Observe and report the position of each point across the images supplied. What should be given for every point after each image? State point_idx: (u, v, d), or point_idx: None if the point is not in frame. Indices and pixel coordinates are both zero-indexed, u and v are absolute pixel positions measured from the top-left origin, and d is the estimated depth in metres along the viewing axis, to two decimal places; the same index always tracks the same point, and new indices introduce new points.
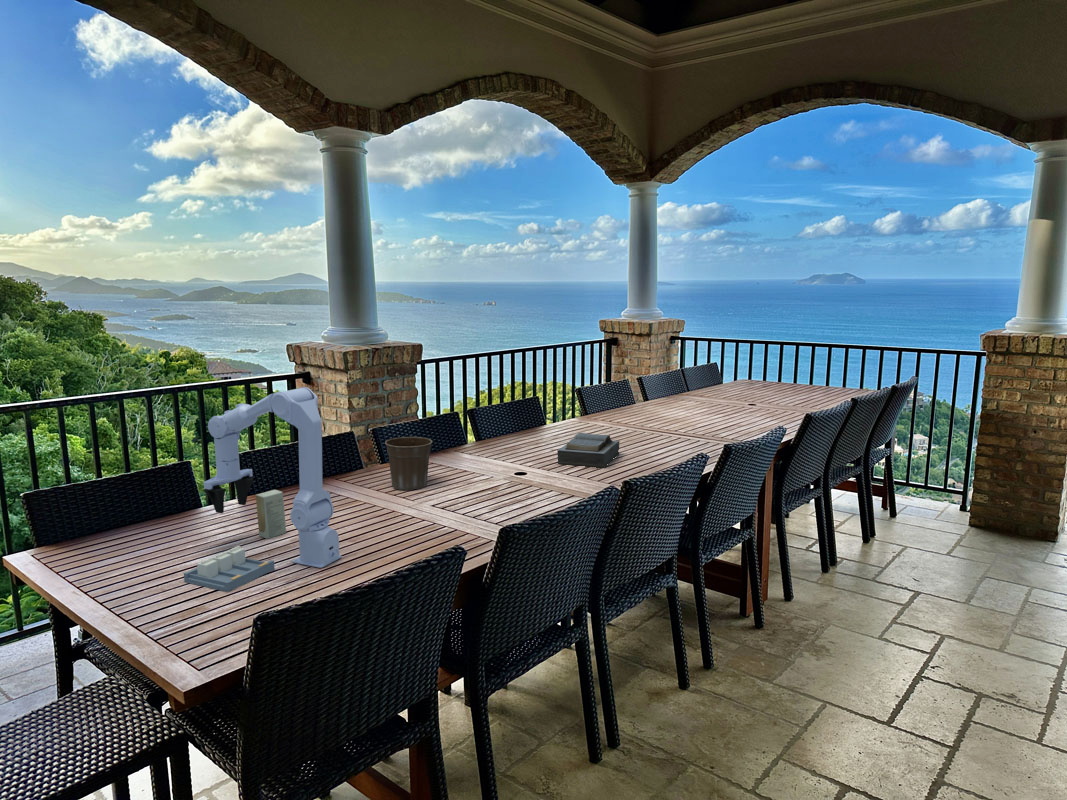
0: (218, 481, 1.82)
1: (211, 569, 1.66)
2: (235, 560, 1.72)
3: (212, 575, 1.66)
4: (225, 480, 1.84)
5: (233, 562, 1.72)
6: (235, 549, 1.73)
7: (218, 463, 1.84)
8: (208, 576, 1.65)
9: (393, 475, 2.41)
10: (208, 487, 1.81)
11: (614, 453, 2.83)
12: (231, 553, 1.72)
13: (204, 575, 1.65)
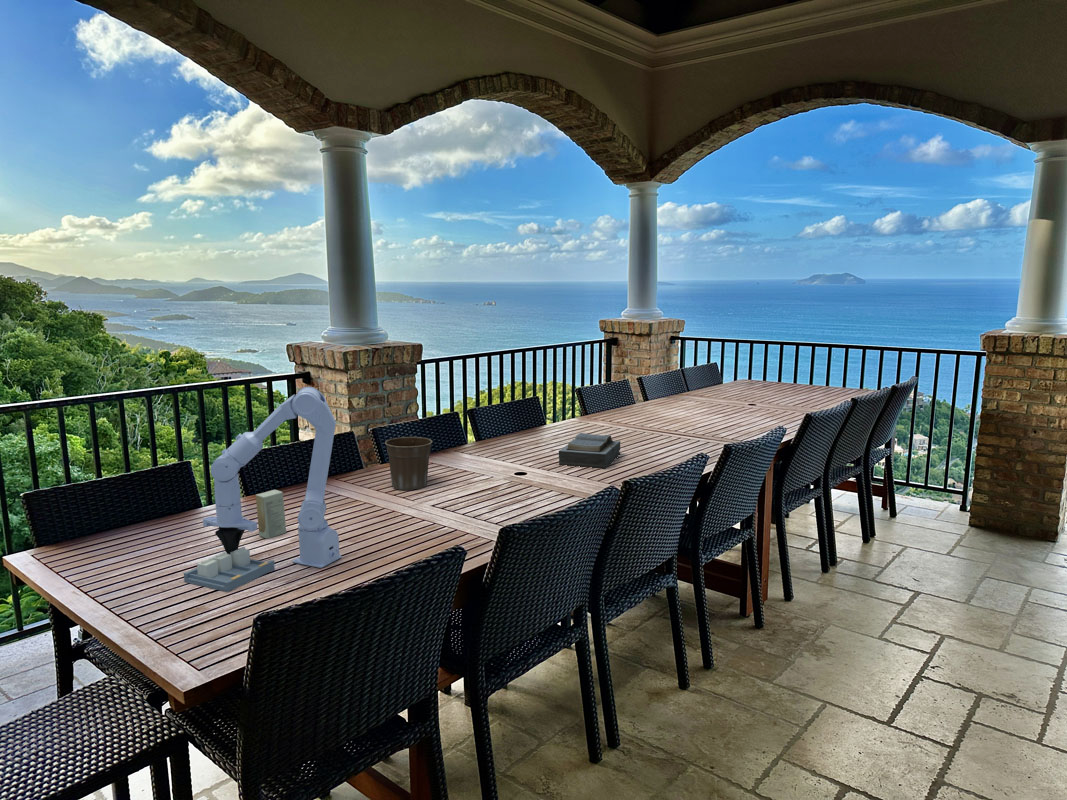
0: (209, 521, 1.73)
1: (211, 569, 1.66)
2: (240, 561, 1.71)
3: (212, 575, 1.66)
4: (213, 523, 1.72)
5: (237, 563, 1.72)
6: (240, 550, 1.73)
7: None
8: (208, 576, 1.65)
9: (393, 475, 2.41)
10: None
11: (615, 453, 2.83)
12: (236, 554, 1.71)
13: (204, 575, 1.65)
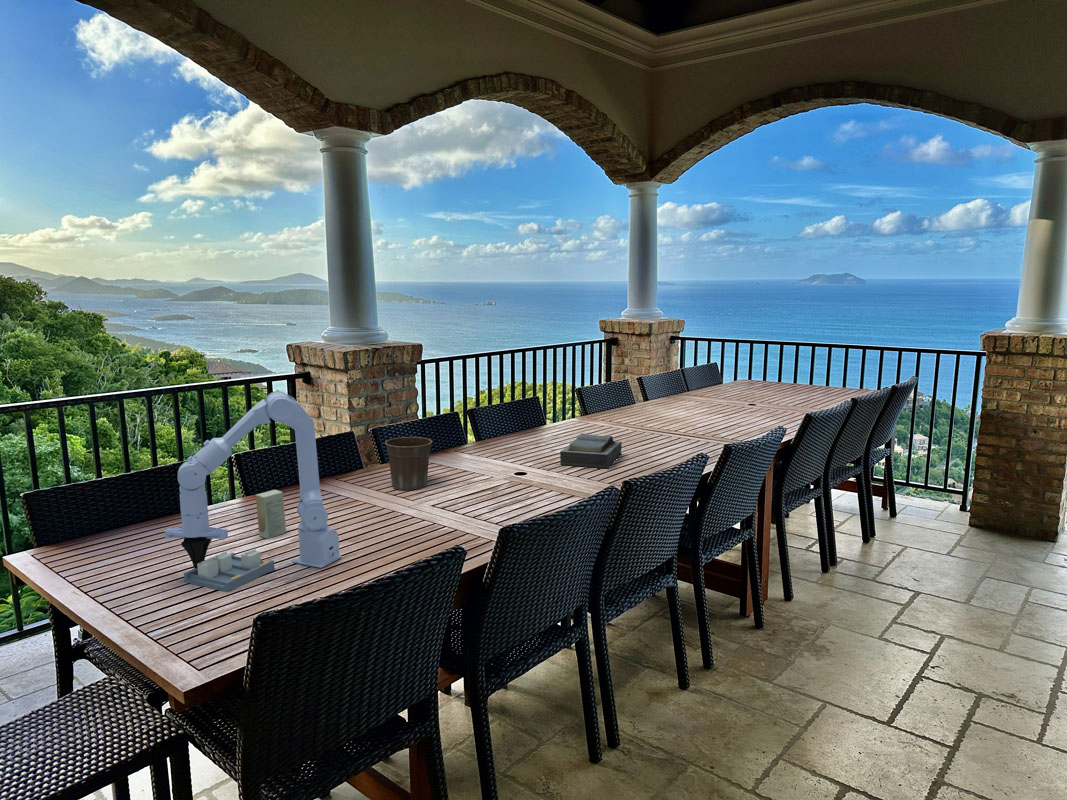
0: (173, 533, 1.65)
1: (212, 569, 1.65)
2: (251, 564, 1.70)
3: (212, 575, 1.66)
4: (178, 534, 1.64)
5: (248, 565, 1.70)
6: (250, 552, 1.71)
7: None
8: (208, 576, 1.65)
9: (393, 475, 2.41)
10: None
11: (617, 454, 2.82)
12: (246, 556, 1.70)
13: (204, 575, 1.65)
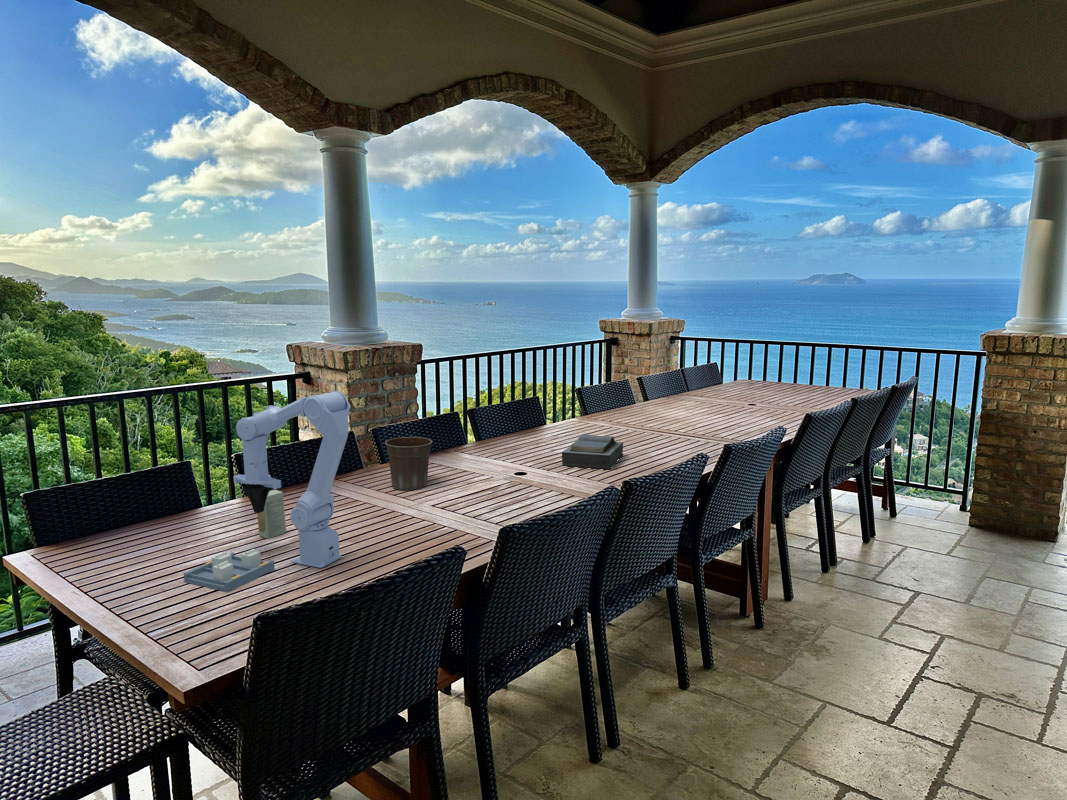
0: (238, 478, 1.84)
1: (227, 572, 1.63)
2: (251, 564, 1.70)
3: (228, 578, 1.64)
4: (241, 480, 1.83)
5: (248, 565, 1.70)
6: (250, 552, 1.71)
7: None
8: (224, 580, 1.63)
9: (393, 475, 2.41)
10: None
11: (618, 454, 2.81)
12: (246, 556, 1.70)
13: (220, 578, 1.63)
